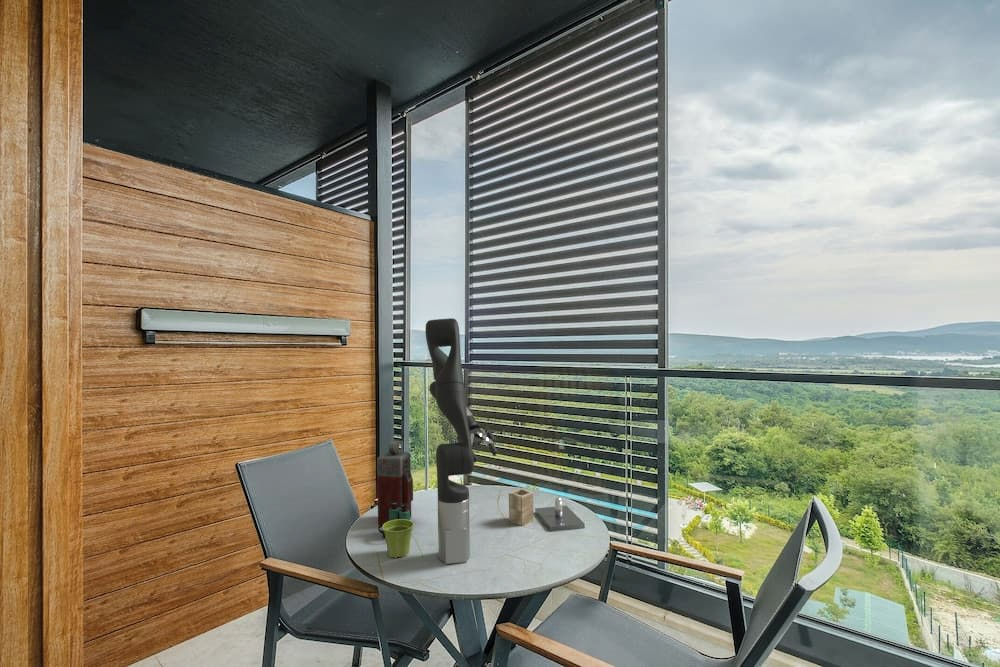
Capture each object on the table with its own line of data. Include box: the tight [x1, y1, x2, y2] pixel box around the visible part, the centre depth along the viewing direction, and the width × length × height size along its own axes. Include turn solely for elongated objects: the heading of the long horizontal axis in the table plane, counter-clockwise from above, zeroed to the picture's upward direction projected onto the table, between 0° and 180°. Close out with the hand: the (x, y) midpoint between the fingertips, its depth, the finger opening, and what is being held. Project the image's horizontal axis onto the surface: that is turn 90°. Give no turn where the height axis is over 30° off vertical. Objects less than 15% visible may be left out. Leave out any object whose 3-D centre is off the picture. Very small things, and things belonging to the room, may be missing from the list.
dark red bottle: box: [376, 440, 414, 526], centre depth 176 cm, size 9×11×28 cm
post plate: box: [534, 496, 586, 532], centre depth 174 cm, size 18×12×8 cm, turn 12°
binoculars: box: [377, 501, 411, 539], centre depth 162 cm, size 9×11×10 cm
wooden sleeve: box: [508, 488, 535, 526], centre depth 174 cm, size 6×6×10 cm
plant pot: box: [381, 519, 415, 559], centre depth 149 cm, size 9×9×9 cm
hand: (486, 457), depth 172 cm, fingers open, 8 cm apart
